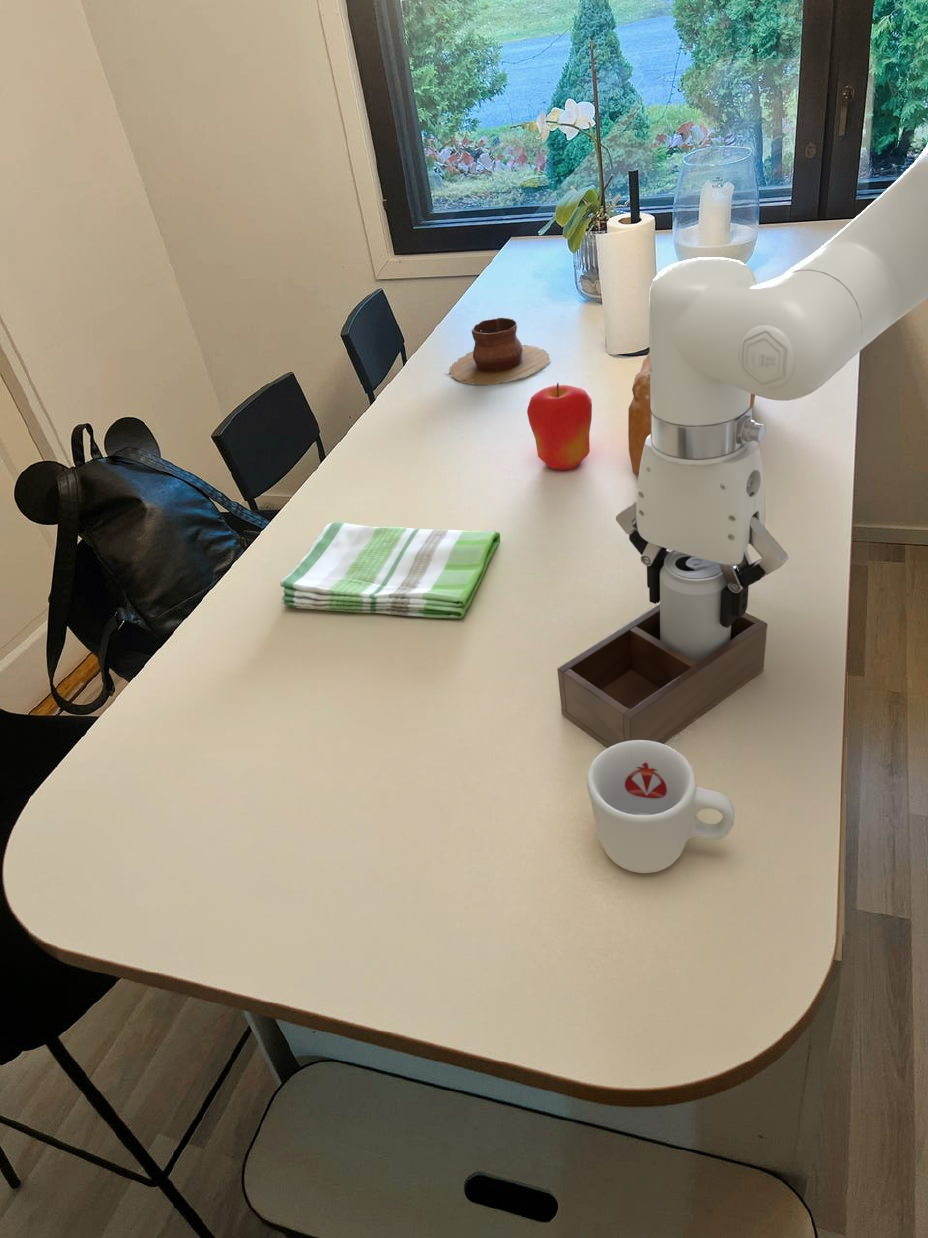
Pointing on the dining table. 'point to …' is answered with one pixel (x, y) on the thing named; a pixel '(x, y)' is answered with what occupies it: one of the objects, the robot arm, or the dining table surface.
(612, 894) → the dining table surface
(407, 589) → the dish towel
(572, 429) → the apple
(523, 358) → the ceramic pot
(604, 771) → the cup
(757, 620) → the wooden compartment box
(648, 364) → the bread
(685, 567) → the beverage can
